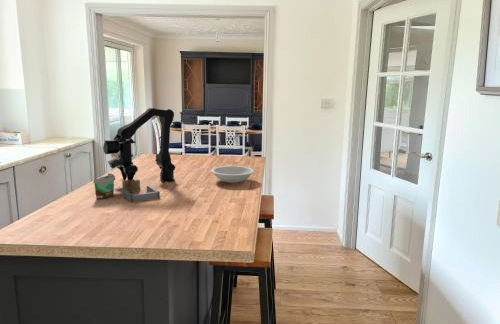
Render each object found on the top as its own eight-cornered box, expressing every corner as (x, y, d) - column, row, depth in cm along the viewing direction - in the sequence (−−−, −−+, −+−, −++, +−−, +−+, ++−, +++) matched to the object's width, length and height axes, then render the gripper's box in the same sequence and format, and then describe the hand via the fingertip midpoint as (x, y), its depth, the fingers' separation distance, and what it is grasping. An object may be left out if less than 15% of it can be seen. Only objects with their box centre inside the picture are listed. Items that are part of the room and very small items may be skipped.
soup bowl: (245, 189, 190) (245, 176, 189) (203, 184, 198) (203, 172, 197) (259, 179, 212) (260, 167, 211) (222, 175, 220) (222, 164, 219)
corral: (149, 191, 183) (149, 185, 182) (159, 197, 172) (159, 191, 171) (122, 195, 175) (121, 188, 175) (131, 202, 164) (130, 196, 164)
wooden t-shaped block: (138, 188, 188) (138, 178, 187) (143, 191, 181) (143, 182, 180) (122, 190, 183) (122, 180, 182) (127, 194, 177) (126, 184, 176)
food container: (106, 201, 165) (105, 179, 163) (94, 200, 167) (93, 178, 165) (121, 194, 177) (120, 173, 175) (109, 193, 178) (108, 173, 176)
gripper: (104, 150, 190) (106, 180, 193) (114, 156, 175) (115, 188, 178) (126, 149, 196) (127, 177, 199) (137, 154, 181) (138, 185, 184)
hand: (127, 182), depth 190 cm, fingers open, 8 cm apart
